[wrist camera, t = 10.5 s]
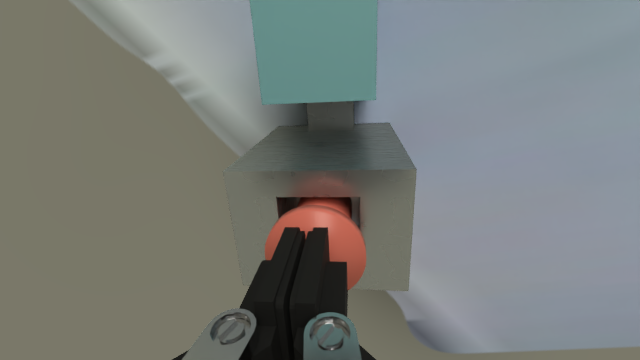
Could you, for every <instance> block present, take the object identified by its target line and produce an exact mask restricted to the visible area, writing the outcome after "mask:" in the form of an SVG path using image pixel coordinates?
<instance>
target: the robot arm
mask: <svg viewBox="0 0 640 360" xmlns="http://www.w3.org/2000/svg"><path fill="white" fill-rule="evenodd" d="M347 292H348V284H347V262H335V261H330V257H329V236H328V227H314V228H313V231H308V233H307V237H306V238H305V231H300V228H299V227H285V228H284V231H283V233H282V235H281V238H280V240H279V242H278V245H277V247H276V249H275V252H274V254H273V257H272V259H271V260H263V261H262V262H261V263H260V265H259V268H258V270H257V272H256V274H255V276H254V278H253V280H252V282H251V285H250V287H249V289H248V291H247V293H246V295H245V298H244V300H243V302H242V304H241V306H240V308H239V309H231V310H227V311H225V312H223V313H221V314H219V315H218V316H216V317H215V318H214V319H213V320H212V321H211V322H210V323H209V324H208V325H207V327H206V328H205V329H204V331H203V332H202V333H201V335H200V336H199V337H198V339H197V340H196V342H195V343H194V344H193V345H192V347H191V348H190V349H189V350H188V351H186V352H185V353H183V354H181V355H179V356H178V357H176V358H174V359H173V360H376V359H375V358H374V357H372V356H371V355H370V354H369V353H368V352H367V351H366V350H365V349H363V348H362V347H361V346H360V345H359V343H358V338H357V333H356V329H355V327H354V324H353V323H352V322H351V320H350V319H349V318H347V295H348V294H347Z"/></svg>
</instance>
